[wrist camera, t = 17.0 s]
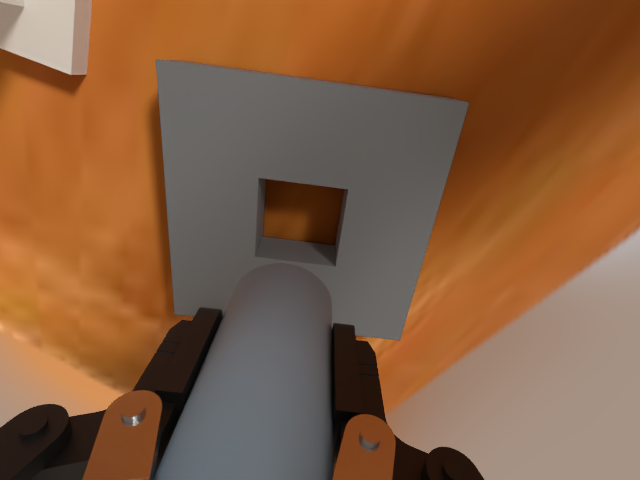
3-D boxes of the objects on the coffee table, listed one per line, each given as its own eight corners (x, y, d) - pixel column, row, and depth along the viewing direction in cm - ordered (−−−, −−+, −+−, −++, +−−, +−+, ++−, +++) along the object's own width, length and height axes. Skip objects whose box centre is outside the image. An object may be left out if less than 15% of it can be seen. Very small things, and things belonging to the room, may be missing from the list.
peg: (233, 257, 13) (80, 558, 5) (339, 269, 13) (352, 582, 5) (231, 339, 15) (116, 658, 7) (325, 349, 15) (319, 675, 7)
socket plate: (178, 60, 20) (155, 59, 18) (451, 97, 21) (469, 102, 18) (189, 289, 27) (174, 314, 25) (393, 314, 28) (399, 340, 25)
